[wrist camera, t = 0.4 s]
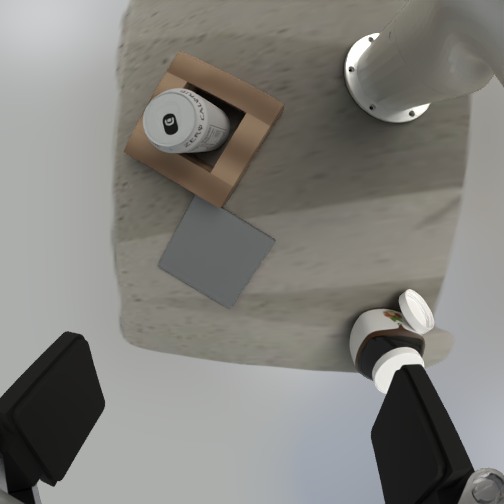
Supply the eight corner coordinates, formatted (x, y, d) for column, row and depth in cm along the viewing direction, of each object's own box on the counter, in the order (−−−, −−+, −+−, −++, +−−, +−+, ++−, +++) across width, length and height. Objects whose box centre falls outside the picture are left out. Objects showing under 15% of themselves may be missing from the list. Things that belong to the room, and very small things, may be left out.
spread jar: (341, 344, 47) (353, 395, 35) (361, 278, 43) (385, 319, 32) (407, 351, 46) (430, 397, 35) (431, 289, 42) (466, 328, 31)
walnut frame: (191, 61, 36) (179, 50, 31) (284, 109, 37) (284, 104, 32) (140, 150, 40) (123, 151, 35) (227, 201, 41) (219, 208, 36)
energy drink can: (225, 100, 37) (193, 75, 23) (236, 144, 39) (211, 141, 25) (180, 114, 38) (130, 99, 24) (192, 157, 40) (145, 162, 25)
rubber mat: (197, 192, 41) (196, 193, 41) (275, 239, 42) (275, 241, 42) (159, 264, 45) (158, 265, 44) (230, 307, 46) (229, 309, 45)
